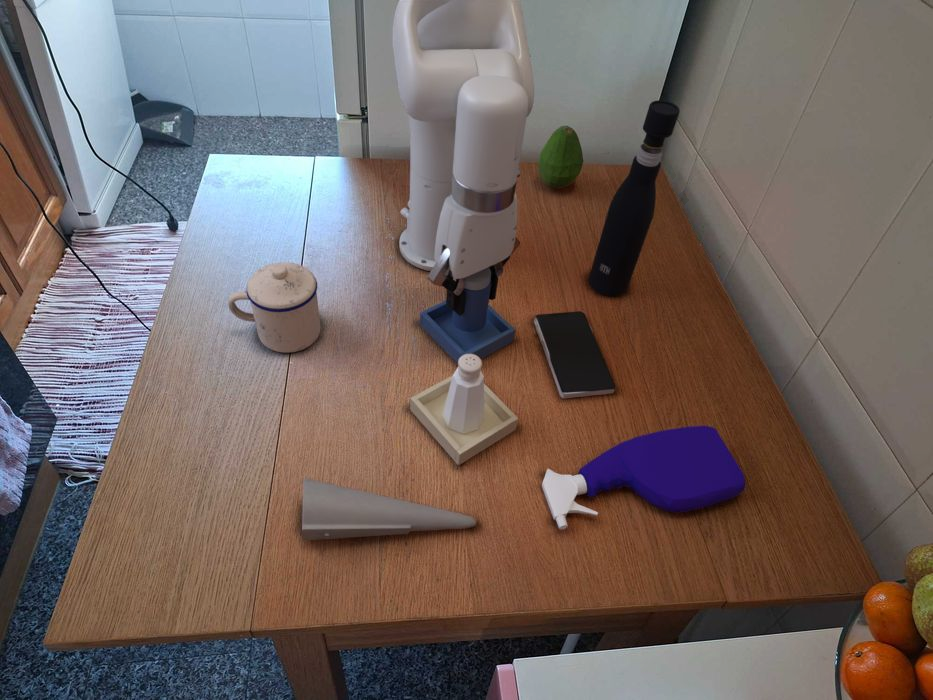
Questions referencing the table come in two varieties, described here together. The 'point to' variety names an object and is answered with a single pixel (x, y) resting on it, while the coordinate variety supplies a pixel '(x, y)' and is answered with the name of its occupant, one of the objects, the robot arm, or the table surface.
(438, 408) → the cream tray
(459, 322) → the pepper shaker
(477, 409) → the salt shaker
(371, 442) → the table surface
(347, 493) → the grey tapered cone
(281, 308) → the teacup with lid
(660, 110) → the black bottle
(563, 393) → the smartphone
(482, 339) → the blue tray
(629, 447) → the spray bottle
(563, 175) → the avocado
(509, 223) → the robot arm
